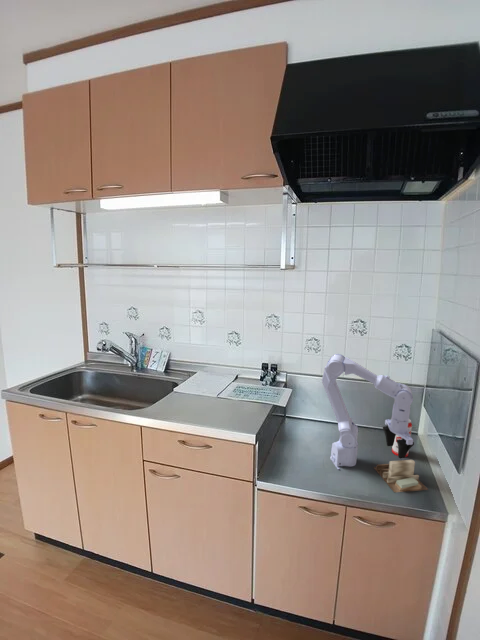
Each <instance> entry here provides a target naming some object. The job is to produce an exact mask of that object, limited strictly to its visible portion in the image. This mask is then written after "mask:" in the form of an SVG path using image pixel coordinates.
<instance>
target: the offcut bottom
mask: <svg viewBox="0 0 480 640" xmlns="http://www.w3.org/2000/svg"><path fill="white" fill-rule="evenodd" d="M395 485H396V487H397V488H398V489H399V490H400V491H405V490H417V489H421V485H420V484H419V483H418V485H416V486H411V487H406V488H401V487H400V486H399V485H397V484H396V482H395Z"/></svg>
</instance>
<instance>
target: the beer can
mask: <svg viewBox="0 0 480 640" xmlns="http://www.w3.org/2000/svg"><path fill="white" fill-rule="evenodd" d="M412 428H413V424H412V419H410V418H409V422H408V429H410V431H409V434H410V436H411V437H412V430H413V429H412ZM397 440H402V438H401V437H400V436H398V435H396V436H395V440H394V444H393V446H391V447H392V448H391V452H392V453H393V454H394V455H395V456H397V457H398V444H397ZM409 452H410V450H409V451H408V452H407V454H406V456H405V458H407V457H408V456H409Z"/></svg>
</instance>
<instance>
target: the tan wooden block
mask: <svg viewBox="0 0 480 640" xmlns="http://www.w3.org/2000/svg"><path fill="white" fill-rule="evenodd" d="M388 464H389V471H388V477H394V476H408V475H415V466H416V462H415V460H413V459H406V460H405V459H403V460H402V459H401V460H389V462H388Z"/></svg>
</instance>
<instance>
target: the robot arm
mask: <svg viewBox="0 0 480 640" xmlns="http://www.w3.org/2000/svg"><path fill="white" fill-rule="evenodd" d="M343 373H344V375H345V376H347V375H352V374H354V375H355V376H358V377H359V378H362V379H363V380H366V381H368V382H369V383H372V384H373V386H374V389H376V390H378V391H380V392H381V393H383V394H384V395H386V396H389V397H390V398H392V399H393V400H394V401H393V404H392V412H391V418H390V419H389V418H387V419H384V424H385V426H382V430H383V432H384V436H385V441H386V446H387V447H392V446H393V444H394V440H395V436H396V435H398V436H400V437H401V438H402V440H397V444H398V456H397V457H398V458H399V459H405V458H406V457H405V456H406V454H407V452H408V451H409V452H410V449H412V447H413V446H414V445H415V442H414V439H413V438H412V435H411V436H410V434H409V431H410V429H408V422H409V419H410V415H411V406H412V405H411V404H412V403H413V402H414V399H413V392H412V389H411V388H410V386H408V385H407V384H404V383H401V382H399V383H398V382H397V381H395V380H393V379H392V378H390V376H389V375H388V374H386V375H384V374H379V375H377V374H375V373H374V372H373V371H370V370H369V369H367V368H365V367H364V366H362V365H361V364H359V363H357V362H355V361H354V360H353V359H351V358H349V357H347V356H344V355H343V354H341V353H335V354H333V355H331V357H330V358H329V359H328V361H327V363H326V365H325V366H324V370H323V374H322V377H321V382H322V386H323V388H324V391H325V393H326V396H327V398H328V401H329V405H330V406H331V408H332V411H333V414H334V416H335V419H336V420H337V421H336V422H337V426H338V432H339V439H338V441H335V442H332V444H331V450H330V451H331V452H330V457H329V459H330V461H331V462H332V463H333V465H334V466H335V468H336V470H339V471H340V470H341V468H340V467H354V466H356V465H357V458H358V450H359V449H358V448H359V442H358V435H359V427H358V425H357V424H356V423H355V422H354V420H353V418H352V417H350V414H349V412H348V409H347V406H346V403H345V401H344V399H343V396H342V394H341V392H340V389H339V386H338V383H337V379H338V378H339V377H340V376H342V374H343Z"/></svg>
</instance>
